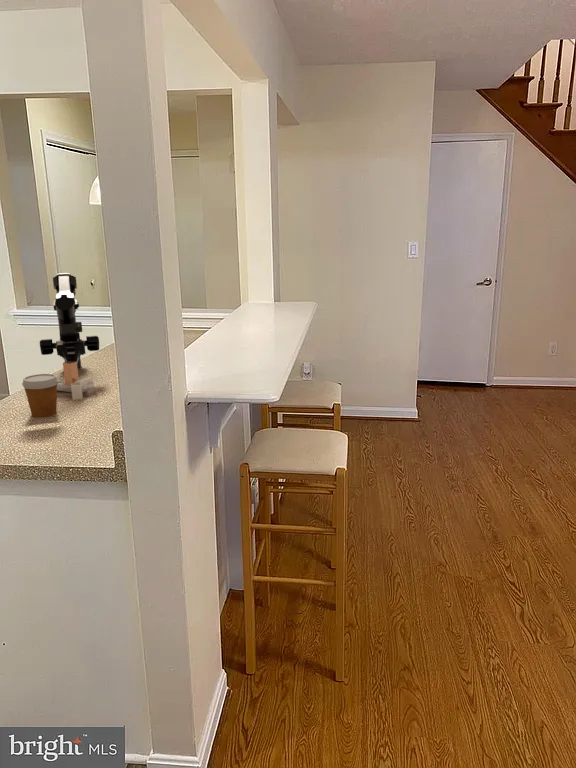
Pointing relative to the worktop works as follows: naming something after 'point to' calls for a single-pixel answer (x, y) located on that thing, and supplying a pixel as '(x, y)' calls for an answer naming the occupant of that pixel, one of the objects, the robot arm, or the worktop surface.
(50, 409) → the disposable coffee cup
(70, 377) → the lever link
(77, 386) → the block
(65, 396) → the walnut board
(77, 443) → the worktop surface
